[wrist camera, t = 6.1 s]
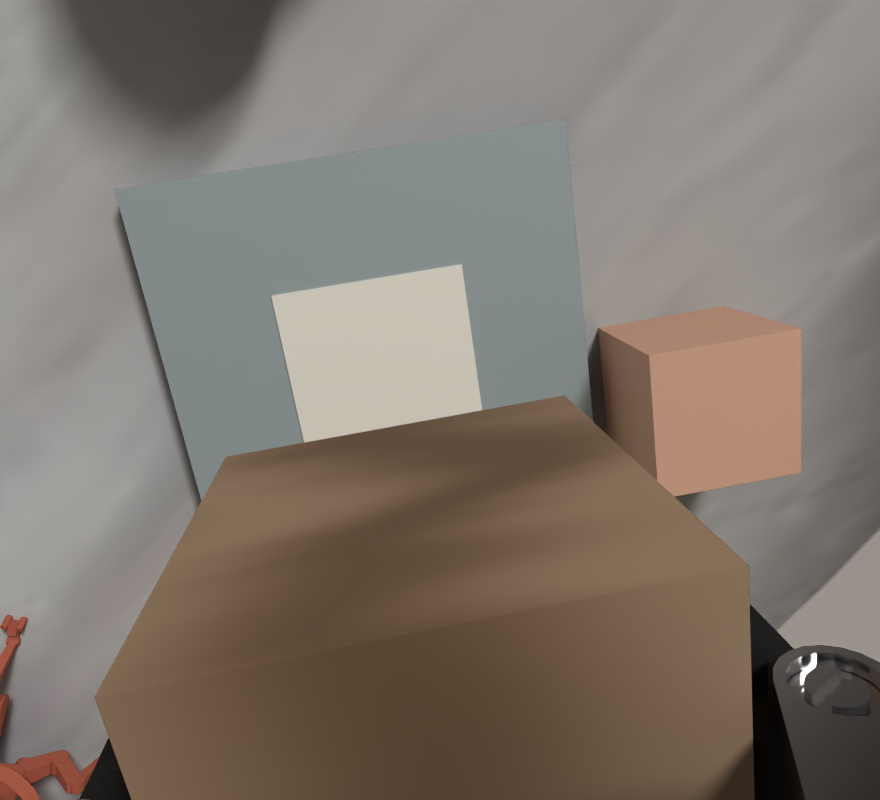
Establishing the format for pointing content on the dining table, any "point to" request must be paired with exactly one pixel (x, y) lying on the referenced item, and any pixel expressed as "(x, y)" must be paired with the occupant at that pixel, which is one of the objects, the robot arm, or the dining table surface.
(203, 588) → the walnut block
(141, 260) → the board
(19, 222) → the dining table surface
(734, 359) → the terracotta block
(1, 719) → the beetle
